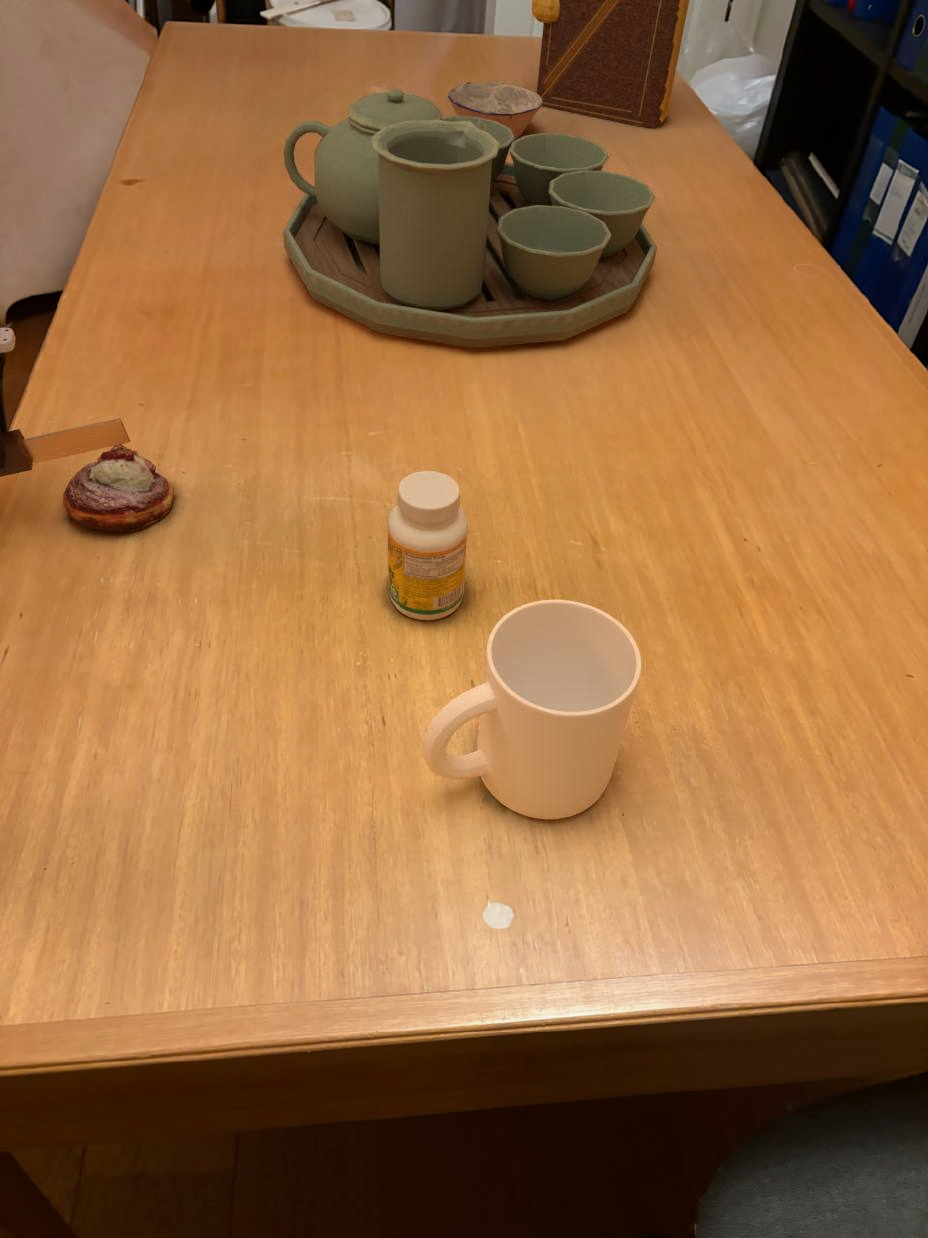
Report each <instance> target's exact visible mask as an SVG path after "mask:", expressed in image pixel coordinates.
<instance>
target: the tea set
mask: <svg viewBox="0 0 928 1238" xmlns="http://www.w3.org/2000/svg"><path fill="white" fill-rule="evenodd" d="M308 133H311V134H314V133H315V134H318V135H319V136H320V137H321V138H320V140H319V141H318V143H317V146H316V148H315V150H314V185H312V184H310V182H308V181H306V180H305V179H304V177H303V176H302V174H301V173H300V172H299V170H298V168H297V165H296V163H295V153H294V152H295V148H296V145H297V142H298V141H299V139H301V137H303V136H304V135H306V134H308ZM508 155H510V157H511V160H512V162H510V161H507V158H508ZM609 158H610V156H609V154H608V151H606V149H605V148H604V146H602V145H601V144H598V143H597V142H594V141H593V140H591V139H589V138H586V137H580V136H576V135H572V134H567V133H554V132H553V133H551V132H541V133H535V134H528V135H527V134H526V135H523V136H520V137H519V138H517V139H515V138H514V135H513V133H512V131H511V129H510V128H508V127H506V126H504V125H502V124H500V123H498V122H496V121H492V120H488V119H483V118H479V117H468V116H457V115H449V116H443V112H442V111H441V109H440V108H439V107H438V106H436V104H435V103H433V101H432V100H430V99H427V98H425V97H422V96H419V95H417V94H413V93H405V92H403V91H402V90H400V89H398V88H391V89H389V90H388V91H387V92H377V93H373V94H372V93H371V94H367V95H364V96H362V97H361V98H359V99H358V100H356V101H355V102H353V103H351V104H350V106H349V107H348V117H347V118H345V119H343V120H341V121H340V122H338V123H337V124H335V125H333V126H332V127H331V126H328V125H327V124H324V123H323V122H320V121H318V120H305V121H303V122H301V123H300V124H298V125H296V126H294V128H292V130H291V132H290V133H289V135H288V136H287V138H286V139H285V143H284V147H283V161H284V167H285V169H286V172H287V174H288V177H289V179H290V180H291V181H292V183H294V185H295V186H296V187H297V188H298V190H300V191H301V192H303V193H304V194H303V196H302V198H301V199H300V201H299V202H298V204H297V206H296V208H295V209H294V211H293V213H292V214H291V216H290V218H289V220H288V222H287V223H286V225H285V226H284V228H283V230H282V238H283V247H284V250H285V251H286V254H287V255H288V257H289V259H290V261H291V262H292V264H293V266H294V268H295V269H296V271H297V273H298V274H299V275H298V276H299V277H300V278H301V280H302V282H303V284H304V286H305V287H306V289H307V291H308V292H309V294H310V296H311V298H312V300H314V301H317V302H319V303H321V304H323V305H324V306H326V307H329V308H330V309H333V310H335V311H336V312H338V313H340V314H342V315H343V316H346V317H348V318H350V319H352V320H354V321H356V322H358V323H360V324H362V325H364V326H365V327H367V328H369V329H371V330H373V331H375V332H377V333H379V334H386V335H390V336H391V335H392V336H399V337H404V338H409V339H417V340H422V341H428V342H433V343H440V344H445V345H452V346H458V347H465V348H469V349H479V348H489V347H491V348H492V347H501V346H512V345H524V344H525V345H526V344H534V343H545V342H558V341H566V340H568V339H570V338H573V337H575V336H577V335H579V334H581V333H583V332H586V331H589V330H590V329H593V328H595V327H597V326H599V325H601V324H604V323H606V322H608V321H610V320H612V319H614V318H618V317H619V316H621V315H624V314H627V313H628V312H629V310H630V309H631V308H632V306H633V305H634V304H635V301H636V300H637V298H638V296H639V294H640V292H641V290H642V288H643V286H644V284H645V282H646V280H647V278H648V276H649V275H650V272H651V270H652V269H653V267H654V264H655V262H656V261H655V260H656V256H657V250H658V246H657V245H656V243H655V241H654V240H653V238H652V237H651V235H650V233H649V232H648V230H647V228H646V227H645V225H644V223H643V221H644V219H645V217H646V214H647V212H648V211H649V209H650V208H651V206H652V204H653V203H654V201H655V199H656V195H655V194H654V192H653V191H652V189H651V188H650V186H649V185H648V184H645V183H644V182H641V181H640V180H638V179H636V178H634V177H632V176H630V175H625V174H621V173H616V172H612V171H607V170H603V167H604V166H605V165H606V162H608V159H609Z"/></svg>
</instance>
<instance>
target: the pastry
mask: <svg viewBox="0 0 928 1238" xmlns="http://www.w3.org/2000/svg"><path fill="white" fill-rule="evenodd" d="M96 458H97V460H96V461H93V462H90V463H88V464H86V465H85V466H83V468H81V469H80V470H79V471H77V472H76V473H75V474H74V475H73V477H72V478H71V479H70V480H69V482H68V484H67V486H66V487H65V490H64V492H63V493H62V503H63V506H64V508H65V511H66V513H67V516H69V517H70V518H71V519H72V520H73V521H74V522H75V523H76V524H78V526H80V527H82V528H87V529H92V530H97V531H102V532H104V533H105V532H106V533H107V532H129V531H141V530H144V529H145V528H147V527H148V526H151V525H153V524H154V523H156V522H157V521H159V520H161V519H163V518H164V517H165V515H167V514H168V513H169V512H170V510H171V506H172V503H173V500H174V487H173V486H172V485H171V483H170V482H169V481H168V480H167V479H166V477H164V476H163V475H161V474H159V473H158V472H156V469H157V467H156V465H155V464H154V463H153V462H151V460H149V459H147V458H145V457H143V456H141V455H140V454H139V453H138V451H137V450H132V449H131V448H127V447H126V446H124V444H120V445H115V446H112V447H111V448H110V450H107V451H102V453H101V454H100V456H98V457H96Z"/></svg>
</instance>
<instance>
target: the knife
mask: <svg viewBox="0 0 928 1238" xmlns="http://www.w3.org/2000/svg"><path fill="white" fill-rule="evenodd" d="M1 434H2V438H3V444H4V450H5V465H4V468H3V469H0V478H3V477H6V476H10V475H11V476H12V475H16V474H21V473H25V472H29V471H33V466H34V464H39V463H42V462H48V461H50V460H56V459H60V458H65V457H69V456H74V455H78V454H83V453H89V452H92V451H97V450H102V449H105V448H110V447H111V448H112V447H114V446H115V445H120V444H121V445H124V444H129V443H131V439H130V436H129V434H128V432H127V429H126V428H125V425H124V422H123V421H122V419H121V417H118V418H114V419H110V420H106V421H100V422H96V423H91V424H86V425H82V426H78V427H77V426H76V427H73V428H68V429H63V430H59V431H55V432H49V433H46V434H41V435H36V436H31V437H25V436H24V435H23V433H22V431H21V429H20V428H17V429H12V430H8V431H7V432H3V433H1Z"/></svg>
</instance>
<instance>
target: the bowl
mask: <svg viewBox="0 0 928 1238" xmlns="http://www.w3.org/2000/svg"><path fill="white" fill-rule="evenodd" d="M447 98H448V100H449V103H450V105H451V106H452V108H453V110H454V113H455V114H456V115H455V116H468V117H479V118H483V119H488V120H492V121H496V122H498V123H500V124H502V125H504V126H506V127H508V128H510V129H511V131H512V133H513V135H514V138H515V140H517V139H519V138H521V137H522V134H523V133H524V131H525V130H526V128H527V127H528V126H529V124H530V123H531V121H532V120H533V118H534V116H535V115H536V114H537V112H538V111H539V110H540V109H541V107H543V106H542V101H543V100H542V98H541V97H540V96H539V95H538V94H537V92H535V91H534V90H532V89H529V88H527V87H524V86H522V85H517V84H511V83H505V82H504V83H503V82H499V81H485V82H484V81H480V82H479V81H476V82H469V81H468V82H467V83H465V82H462V83H461V84H460V85H458V86H456V87H454V88H452V89H451V90H450V91H449V92H448V94H447Z"/></svg>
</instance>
